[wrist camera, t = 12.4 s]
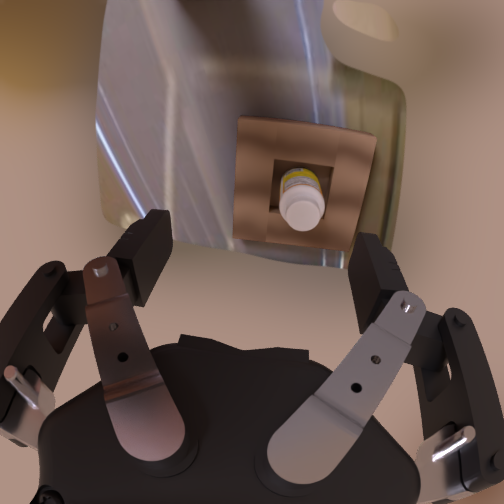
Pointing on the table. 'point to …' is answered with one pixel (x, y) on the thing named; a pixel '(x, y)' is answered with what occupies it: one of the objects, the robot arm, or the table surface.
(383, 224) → the table surface
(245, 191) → the walnut socket block
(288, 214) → the supplement bottle
